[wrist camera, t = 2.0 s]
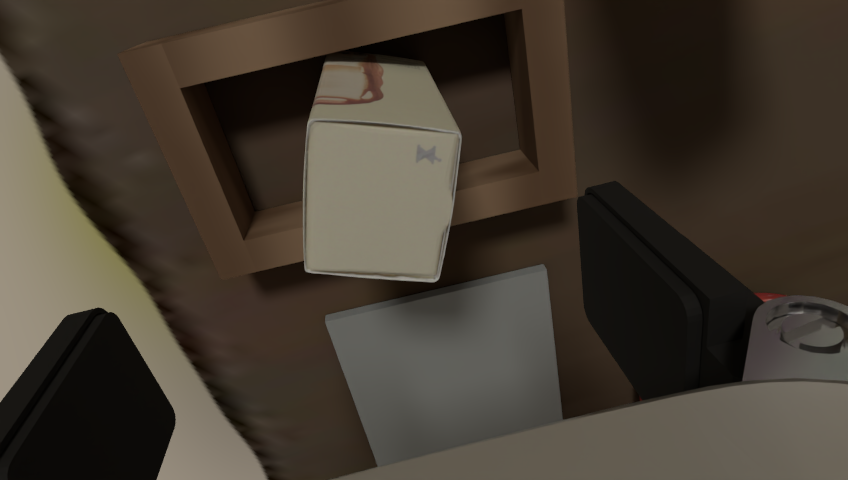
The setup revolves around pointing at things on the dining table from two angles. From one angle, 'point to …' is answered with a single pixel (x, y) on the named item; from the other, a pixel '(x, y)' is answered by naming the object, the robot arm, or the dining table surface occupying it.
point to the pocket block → (327, 33)
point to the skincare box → (378, 170)
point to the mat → (451, 364)
